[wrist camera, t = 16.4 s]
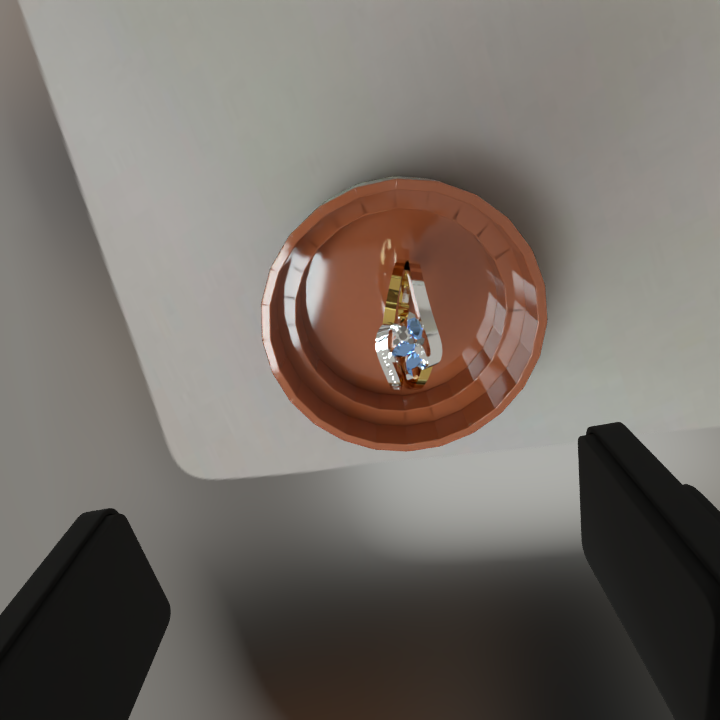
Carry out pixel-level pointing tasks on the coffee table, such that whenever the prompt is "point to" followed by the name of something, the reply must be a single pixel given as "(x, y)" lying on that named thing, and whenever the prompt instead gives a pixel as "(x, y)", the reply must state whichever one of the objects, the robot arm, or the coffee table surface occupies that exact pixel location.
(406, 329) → the ring
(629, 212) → the coffee table surface
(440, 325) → the bowl
